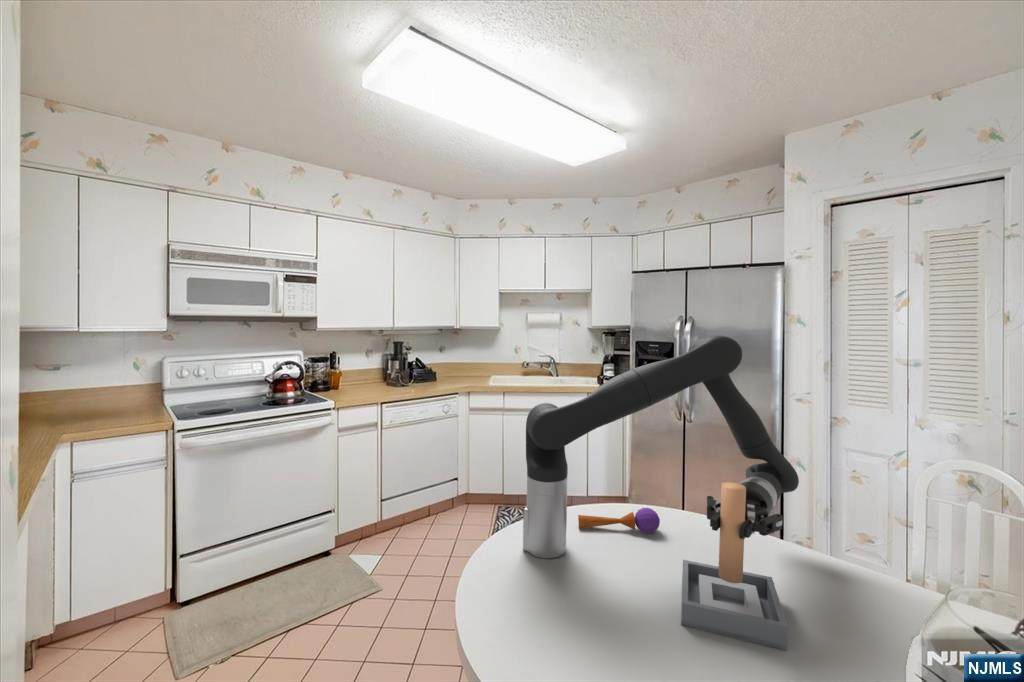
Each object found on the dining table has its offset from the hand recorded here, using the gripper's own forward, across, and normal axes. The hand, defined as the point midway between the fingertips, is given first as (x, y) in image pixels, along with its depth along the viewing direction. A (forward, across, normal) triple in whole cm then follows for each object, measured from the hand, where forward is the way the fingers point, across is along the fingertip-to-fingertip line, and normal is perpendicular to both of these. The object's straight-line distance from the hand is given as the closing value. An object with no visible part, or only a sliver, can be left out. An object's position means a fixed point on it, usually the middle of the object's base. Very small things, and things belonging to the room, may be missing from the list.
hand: (727, 529), depth 80 cm
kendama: (-17, -30, +17) cm, 39 cm away
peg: (-3, 0, +10) cm, 10 cm away
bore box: (-3, 0, +16) cm, 17 cm away
